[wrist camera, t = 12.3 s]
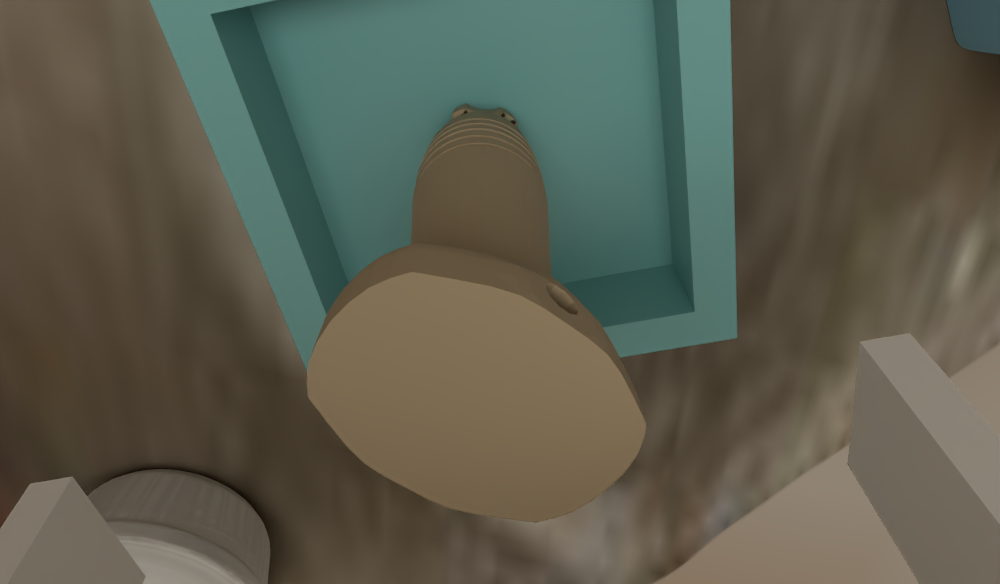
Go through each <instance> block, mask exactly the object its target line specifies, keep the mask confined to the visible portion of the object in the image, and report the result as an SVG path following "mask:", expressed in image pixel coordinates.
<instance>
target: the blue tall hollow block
mask: <svg viewBox="0 0 1000 584" xmlns="http://www.w3.org/2000/svg"><path fill="white" fill-rule="evenodd" d="M946 1H947V6H948V10H949V15H950V20H951V25H952V29H953V33H954V36H955V39H956V41H957V43H958V44H959V45H960V46H961V47H962V48H964V49H968V50H973V51H978V52H986V53H993V54H1000V0H946Z"/></svg>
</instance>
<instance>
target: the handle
mask: <svg viewBox="0 0 1000 584" xmlns="http://www.w3.org/2000/svg"><path fill="white" fill-rule="evenodd" d="M517 127H518V123H517V121H516V119H515V118H514V116H513V115H512V114H511V113H509V112H508V111H507V110H505V109H504V108H501V107H498V108H496V109H492V110H483V109H478V108H474V107H472V106H470V105H469V104H463V105H461V106H459V107H457V108H456V109H455V110H454V111H453V114H452V118H451V120H450V121H449V122H448V123H447V124H445V125H444V126H443V128H442V129H441V130H439V131H438V132H437V133H436V134H435V136H434V138H433V140H432V142H431V143H430V145H429V147H428V149H427V151H426V153H425V156H424V158H423V160H422V163H421V165H420V168H419V171H418V176H417V180H416V184H415V189H414V196H413V205H412V229H411V245H408V246H405V247H402V248H398V249H396V250H394V251H392V252H389V253H387V254H385V255H383V256H380V257H379V258H377V259H376V260H375V261H373V262H372V263H371V264H369V265H368V266H367V267H365V268H364V269H363V270H361V271H360V272H359V273H358V274H357V275H356V276H355V277H354V278H353V279H352V280H351V282H350V283H349V284H348V285H347V286H346V287H345V288H344V289H343V290H342V291H341V293H340V294H339V296H338V297H337V299H336V301H335V302H334V304H333V305H332V307H331V308H330V310H329V312H328V313H327V315H326V317H325V320H324V322H323V325H322V328H321V330H320V333H319V335H318V338H317V340H316V343H315V346H314V348H313V351H312V354H311V357H310V360H309V363H308V373H307V393H308V398H309V400H310V401H311V402H312V403H313V405H314V406H315V407H316V409H317V410H318V411H319V412H320V414H321V415H322V416H323V418H324V419H325V420H326V421H327V423H328V424H329V425H330V427H331V428H332V429H333V430H334V431H335V433H336V434H337V435H338V436H339V437H340V439H341V440H342V441H343V442H344V444H345V445H346V446H347V447H348V448H349V449H350V450H351V451H352V452H353V453H354V454H355V455H356V456H357V457H358V458H359V459H360V460H361V461H362V462H363V463H364V464H366V465H368V466H369V467H371V468H372V469H374V470H375V471H377V472H378V473H380V474H381V475H383V476H385V477H386V478H388V479H390V480H392V481H394V482H396V483H398V484H400V485H402V486H403V487H405V488H407V489H409V490H411V491H413V492H415V493H417V494H419V495H420V496H422V497H424V498H426V499H428V500H431V501H433V502H435V503H438V504H440V505H442V506H445V507H447V508H451V509H455V510H459V511H463V512H467V513H472V514H478V515H485V516H491V517H498V518H505V519H512V520H520V521H527V522H535V523H536V522H540V521H544V520H548V519H553V518H556V517H559V516H561V515H564V514H567V513H570V512H572V511H574V510H576V509H578V508H580V507H581V506H583V505H585V504H587V503H589V502H591V501H592V500H593V499H595V498H596V497H597V496H599V495H600V494H601V493H603V492H604V491H605V490H607V489H608V488H609V487H610V486H611V485H612V484H613V483H614V482H615V481H616V480H617V479H619V478H620V477H621V476H622V475H623V474H624V473H625V471H626V470H627V469H628V467H629V466H630V465H631V463H632V462H633V460H634V459H635V458H636V456H637V454H638V452H639V450H640V447H641V445H642V442H643V440H644V436H645V431H646V427H647V423H646V420H645V417H644V413H643V410H642V407H641V404H640V401H639V397H638V395H637V393H636V390H635V388H634V386H633V384H632V382H631V379H630V377H629V375H628V373H627V371H626V369H625V367H624V365H623V363H622V361H621V359H620V357H619V355H618V353H617V351H616V349H615V347H614V346H613V344H612V342H611V340H610V339H609V337H608V335H607V334H606V332H605V330H604V329H603V327H602V326H601V324H600V322H599V321H598V320H597V319H596V318H595V317H594V316H593V314H592V313H591V312H590V311H589V310H588V309H587V308H586V307H585V306H584V305H583V304H582V303H581V302H580V301H579V300H578V299H577V298H576V296H574V295H573V294H572V293H571V292H570V291H569V290H568V289H567V288H565V287H564V286H563V285H562V284H561V283H560V282H559V281H558V280H556V279H554V278H552V274H551V261H550V242H549V220H548V202H547V197H546V192H545V187H544V182H543V178H542V174H541V171H540V169H539V166H538V163H537V161H536V158H535V155H534V153H533V151H532V149H531V147H530V145H529V143H528V142H527V140H526V138H525V137H524V136H523V134H522V133H521V132H520V130H519V129H518V128H517Z"/></svg>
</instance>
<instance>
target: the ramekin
mask: <svg viewBox="0 0 1000 584" xmlns="http://www.w3.org/2000/svg"><path fill="white" fill-rule="evenodd" d="M87 497H88V498H89V500H90V501H91V502H92V504H93V505H94V507H95V508H96V509H97V511H98V512H99V513H100V515H101V516H102V517H103V519H104V520H105V522H106V523H107V524H108V526H109V527H110V528H111V530H112V531H113V532H114V534H115V535H116V537H117V538H118V539H119V541H120V542H121V543H122V545H123V546H124V547H125V549H126V550H127V552H128V553H129V554H130V556H131V557H132V558H133V560H134V561H135V562H136V564H137V565H138V566H139V568H140V569H141V571H142V572H143V573H144V575H145V576H146V577H145V579H144V581H143V584H268V573H269V563H270V541H269V538H268V534H267V531H266V529H265V526H264V523H263V522H262V520H261V519H260V517H259V515H258V514H257V513H256V511H255V510H254V509H253V507H252V506H251V505H250V504H249V503H248V502H247V501H246V500H245V499H244V498H243V497H241V496H240V495H239V494H238V493H236V492H235V491H233V490H232V489H230V488H229V487H227V486H225V485H223V484H221V483H219V482H217V481H215V480H213V479H210V478H207V477H205V476H202V475H198V474H195V473H190V472H185V471H179V470H170V469H151V470H142V471H137V472H133V473H129V474H126V475H122V476H120V477H117V478H114V479H111V480H110V481H108V482H106V483H104V484H102V485H100V486H99V487H98V488H96V489H95V490H93V491H92V492H91V493H90V494H89V495H88V496H87Z"/></svg>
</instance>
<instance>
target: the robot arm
mask: <svg viewBox="0 0 1000 584" xmlns="http://www.w3.org/2000/svg"><path fill="white" fill-rule="evenodd" d="M848 466H849V467H850V469H851V471H852V472H853V474H854V476H855V477H856V479H857V481H858V482H859V484H860V486H861V487H862V489H863V491H864V492H865V494H866V496H867V497H868V499H869V501H870V502H871V504H872V506H873V507H874V509H875V511H876V512H877V514H878V516H879V517H880V519H881V521H882V522H883V524H884V525H885V527H886V529H887V531H888V532H889V534H890V536H891V537H892V539H893V541H894V542H895V544H896V546H897V547H898V549H899V551H900V552H901V554H902V556H903V557H904V559H905V561H906V562H907V564H908V566H909V567H910V569H911V571H912V572H913V574H914V576H915V577H916V579H917V581H918V582H919V584H1000V436H999V434H998V433H997V432H996V431H995V430H994V429H993V428H992V427H991V425H990V424H989V423H988V422H987V421H986V420H985V418H984V417H983V416H982V415H981V414H980V413H979V412H978V410H976V408H975V407H974V406H973V405H972V404H971V403H970V401H969V400H968V399H967V398H966V397H965V396H964V395H963V394H962V392H961V391H960V390H959V389H958V388H957V387H956V385H955V384H954V383H953V382H952V381H951V380H950V379H949V377H948V376H947V375H946V374H945V373H944V372H943V371H942V369H941V368H940V367H939V366H938V365H937V364H936V363H935V361H934V360H933V359H932V358H931V357H930V356H929V355H928V353H927V352H926V351H925V350H924V349H923V348H922V347H921V345H920V344H919V343H918V342H917V341H916V340H915V339H914V338H913V336H912V335H911V334H910V333H908V334H902V335H896V336H890V337H884V338H878V339H872V340H867V341H861V342H860V344H859V355H858V365H857V375H856V385H855V395H854V405H853V415H852V425H851V435H850V446H849V456H848ZM145 577H146V576H145V575H144V573H143V572H142V571H141V569H140V568H139V566H138V565H137V564H136V562H135V561H134V560H133V558H132V557H131V556H130V554H129V553H128V552H127V550H126V549H125V547H124V546H123V545H122V543H121V542H120V541H119V539H118V538H117V537H116V535H115V534H114V532H113V531H112V530H111V528H110V527H109V526H108V524H107V523H106V522H105V520H104V519H103V517H102V516H101V515H100V513H99V512H98V511H97V509H96V508H95V507H94V505H93V504H92V502H91V501H90V500H89V498H88V497H87V496H86V494H85V493H84V492H83V490H82V489H81V487H80V486H79V485H78V483H77V482H76V481H75V479H74V478H73V477H67V478H61V479H55V480H49V481H43V482H38V483H32V484H30V485H29V486H28V488H27V489H26V491H25V492H24V494H23V495H22V497H21V498H20V500H19V501H18V503H17V504H16V506H15V507H14V509H13V510H12V512H11V513H10V515H9V516H8V518H7V519H6V521H5V522H4V524H3V525H2V527H1V528H0V584H143V581H144V579H145Z"/></svg>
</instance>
